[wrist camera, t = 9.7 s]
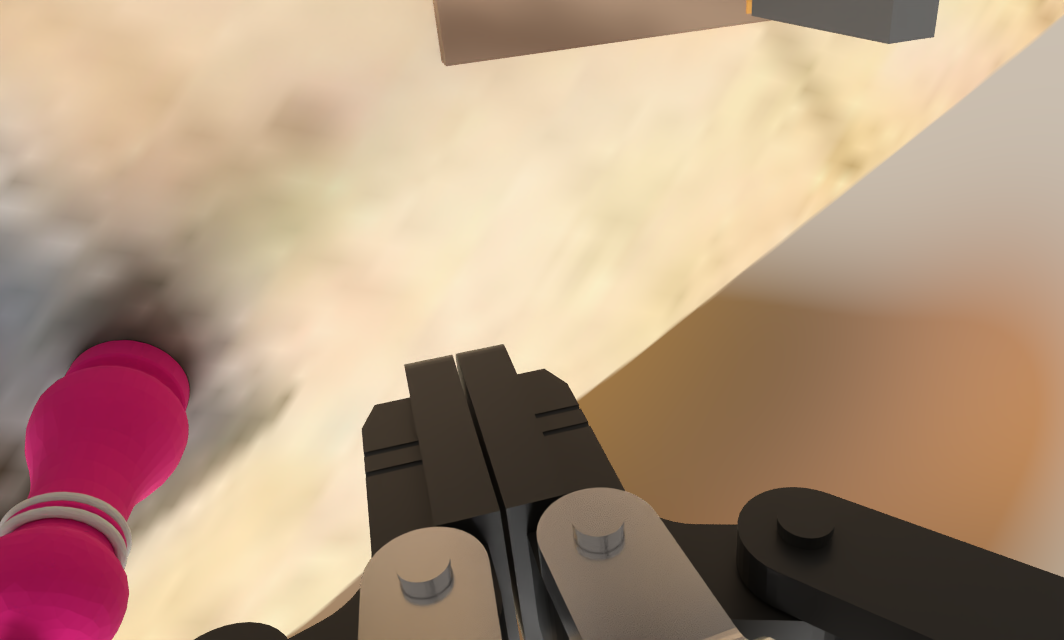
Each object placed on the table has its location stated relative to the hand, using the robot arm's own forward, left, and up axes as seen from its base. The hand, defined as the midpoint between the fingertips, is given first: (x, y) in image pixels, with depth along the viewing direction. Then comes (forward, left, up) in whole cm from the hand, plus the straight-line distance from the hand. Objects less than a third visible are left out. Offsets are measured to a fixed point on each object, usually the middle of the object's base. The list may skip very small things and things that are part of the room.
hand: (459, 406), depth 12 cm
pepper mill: (+15, -16, -31) cm, 38 cm away
